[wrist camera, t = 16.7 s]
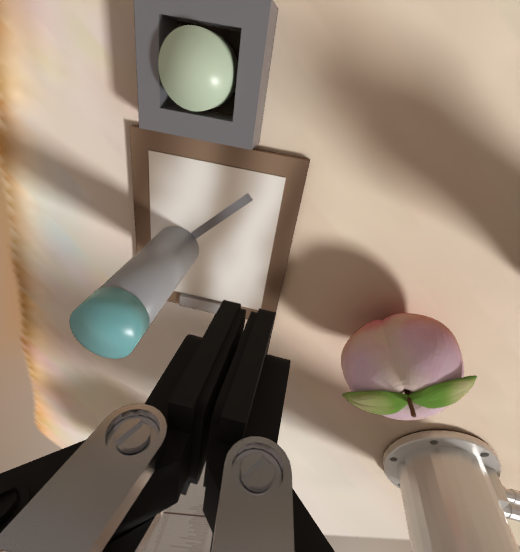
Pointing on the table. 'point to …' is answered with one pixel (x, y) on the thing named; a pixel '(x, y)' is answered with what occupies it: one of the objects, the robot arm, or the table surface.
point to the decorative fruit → (404, 367)
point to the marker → (134, 294)
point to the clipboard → (219, 214)
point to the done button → (197, 68)
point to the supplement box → (183, 524)
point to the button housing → (250, 76)
